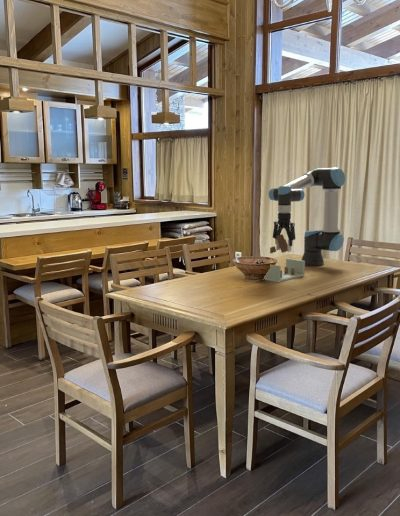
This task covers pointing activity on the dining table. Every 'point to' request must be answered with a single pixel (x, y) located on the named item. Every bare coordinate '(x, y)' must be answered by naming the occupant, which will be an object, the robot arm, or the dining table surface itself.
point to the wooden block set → (280, 244)
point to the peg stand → (286, 271)
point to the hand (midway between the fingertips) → (283, 250)
